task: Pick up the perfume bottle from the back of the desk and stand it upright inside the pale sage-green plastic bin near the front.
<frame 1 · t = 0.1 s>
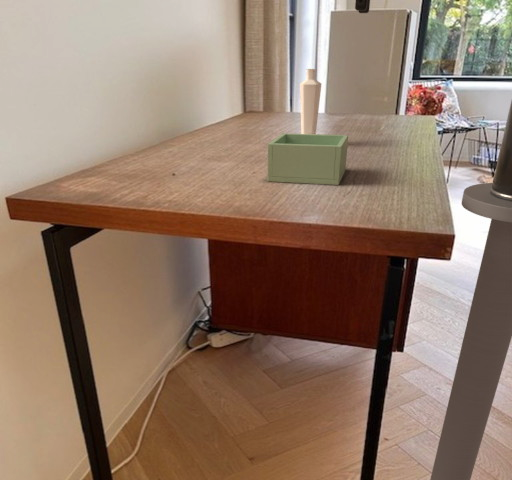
hand: (362, 11, 102), 25 cm above the table, tool pointing down, fingers open, 8 cm apart
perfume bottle: (307, 145, 113), on the table
bin: (308, 175, 85), on the table
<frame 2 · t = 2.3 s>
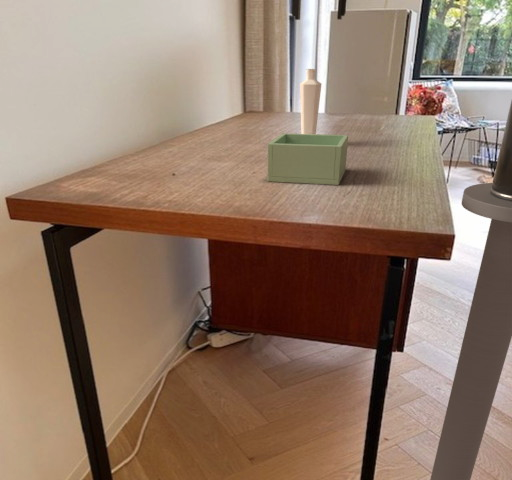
hand: (318, 19, 101), 24 cm above the table, tool pointing down, fingers open, 8 cm apart
nothing on the table moved.
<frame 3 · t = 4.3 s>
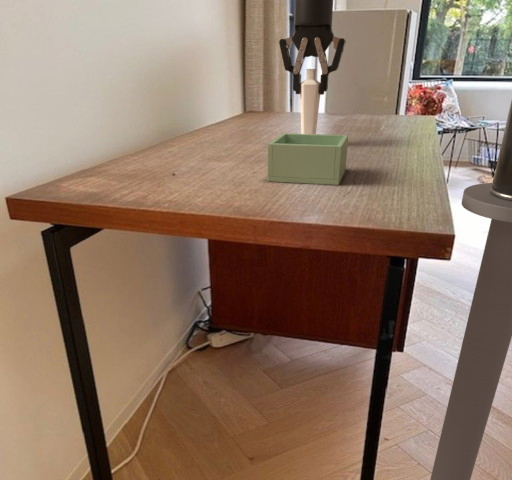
hand: (310, 93, 107), 10 cm above the table, tool pointing down, fingers closed on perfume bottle, 4 cm apart
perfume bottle: (307, 145, 113), on the table, touching gripper
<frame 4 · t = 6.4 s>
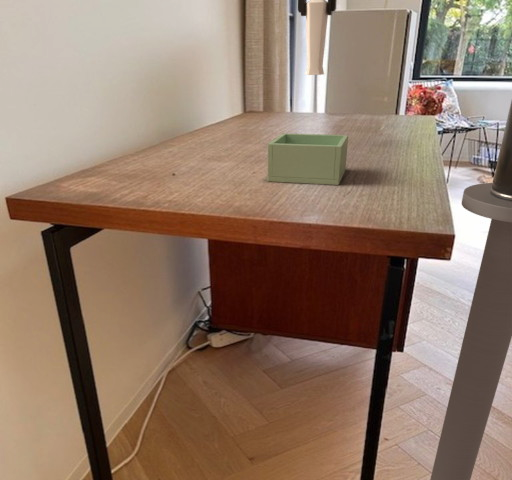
hand: (316, 15, 98), 24 cm above the table, tool pointing down, fingers closed on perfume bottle, 4 cm apart
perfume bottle: (314, 75, 103), point 14 cm above the table, touching gripper
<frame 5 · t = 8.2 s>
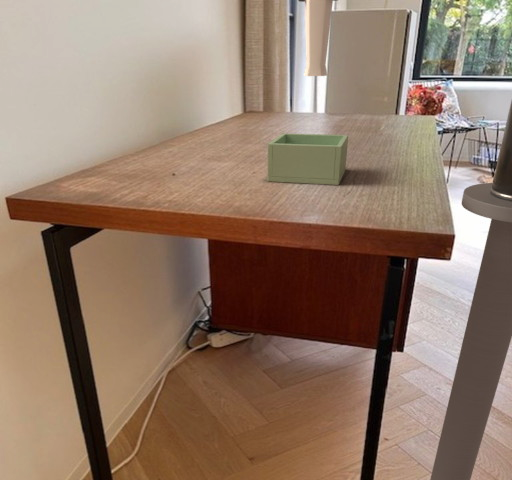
hand: (318, 0, 77), 25 cm above the table, tool pointing down, fingers closed on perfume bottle, 4 cm apart
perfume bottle: (315, 77, 82), point 15 cm above the table, touching gripper
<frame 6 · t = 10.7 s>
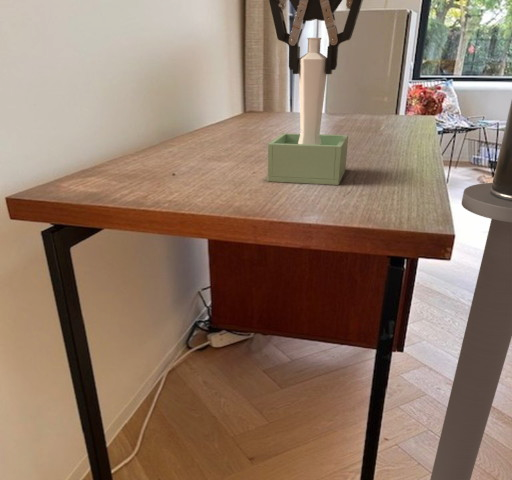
hand: (312, 73, 77), 15 cm above the table, tool pointing down, fingers closed on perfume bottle, 4 cm apart
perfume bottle: (309, 145, 83), point 5 cm above the table, touching gripper
when the fingers open (11 cm above the table, at t = 12.2 s): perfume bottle stays where it is, resting on bin.
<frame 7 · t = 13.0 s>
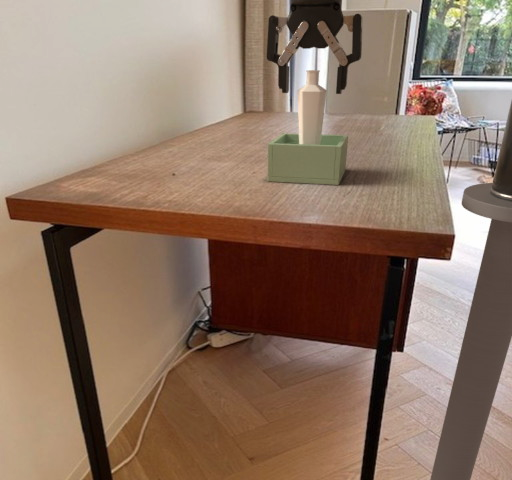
hand: (312, 93, 79), 13 cm above the table, tool pointing down, fingers open, 8 cm apart
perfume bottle: (308, 172, 85), point 1 cm above the table, touching bin
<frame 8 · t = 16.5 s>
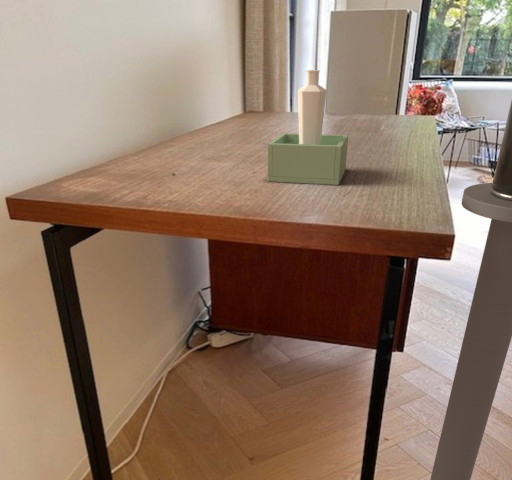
nothing on the table moved.
at the end: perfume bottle inside the target area in the bin (0.2 cm from its centre), point 0.6 cm above the bin's base; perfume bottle tilted 0°; the gripper is holding nothing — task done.
